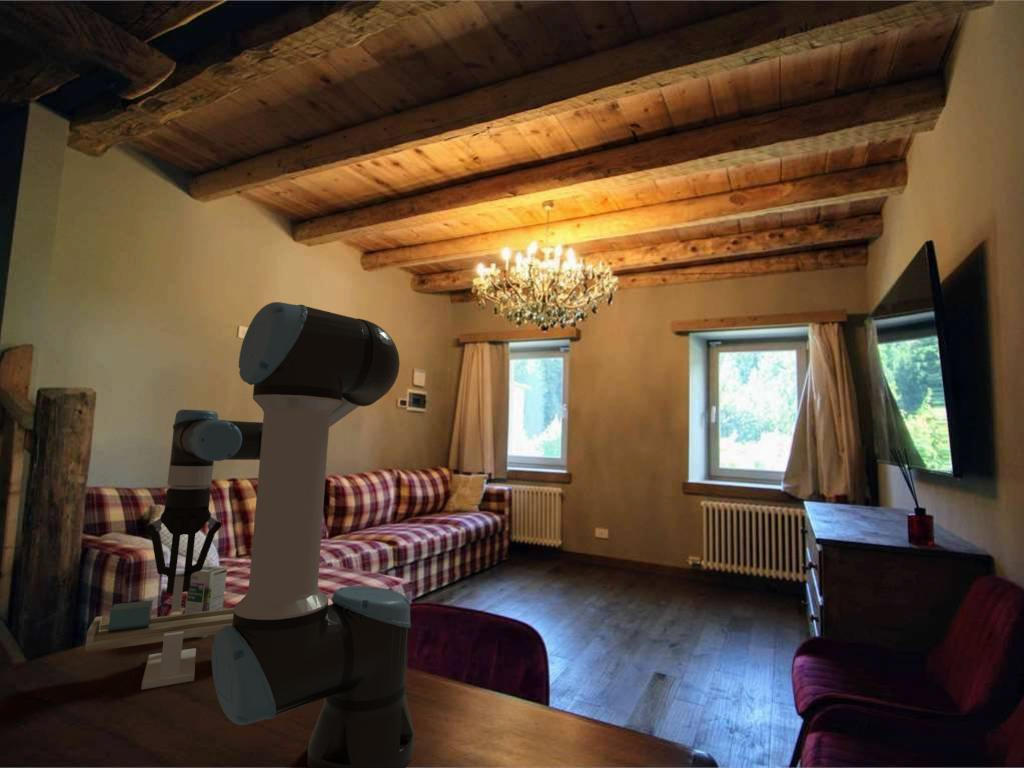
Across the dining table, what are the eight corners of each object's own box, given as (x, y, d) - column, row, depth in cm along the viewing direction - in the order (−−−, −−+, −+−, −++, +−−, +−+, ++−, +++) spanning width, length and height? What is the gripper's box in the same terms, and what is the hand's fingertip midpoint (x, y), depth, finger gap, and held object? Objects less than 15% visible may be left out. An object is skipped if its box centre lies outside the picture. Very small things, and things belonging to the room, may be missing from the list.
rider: (147, 631, 96) (150, 606, 96) (107, 636, 93) (110, 610, 93) (150, 624, 99) (152, 600, 100) (111, 629, 96) (114, 604, 97)
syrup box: (180, 636, 115) (187, 569, 117) (200, 626, 121) (207, 563, 122) (202, 638, 114) (209, 571, 116) (221, 629, 120) (228, 565, 121)
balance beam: (249, 645, 102) (252, 611, 103) (82, 671, 89) (86, 632, 89) (246, 630, 109) (249, 598, 110) (92, 652, 96) (96, 616, 97)
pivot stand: (193, 680, 95) (198, 632, 96) (141, 689, 91) (147, 639, 92) (195, 654, 106) (199, 611, 107) (148, 660, 102) (153, 616, 103)
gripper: (225, 484, 109) (214, 600, 106) (151, 485, 102) (137, 608, 100) (227, 488, 102) (214, 611, 100) (148, 489, 96) (132, 620, 93)
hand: (176, 609), depth 100 cm, fingers closed
